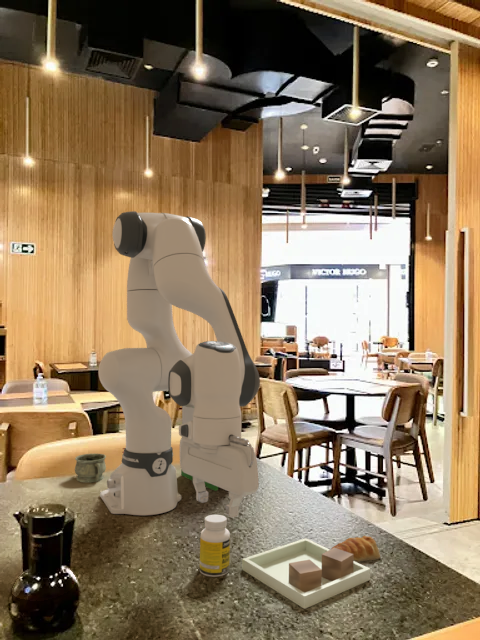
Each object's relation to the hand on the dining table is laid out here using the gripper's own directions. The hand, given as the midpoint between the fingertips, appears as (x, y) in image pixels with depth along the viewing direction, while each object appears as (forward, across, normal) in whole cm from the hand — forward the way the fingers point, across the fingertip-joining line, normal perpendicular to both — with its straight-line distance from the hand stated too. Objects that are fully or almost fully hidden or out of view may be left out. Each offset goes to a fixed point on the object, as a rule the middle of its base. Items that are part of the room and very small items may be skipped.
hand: (216, 508), depth 93 cm
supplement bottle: (+12, +1, 0) cm, 12 cm away
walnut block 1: (+11, -14, -8) cm, 20 cm away
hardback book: (+11, +48, -30) cm, 57 cm away
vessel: (+11, +69, -3) cm, 69 cm away
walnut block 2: (+11, -14, -16) cm, 24 cm away
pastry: (+12, -10, -26) cm, 31 cm away
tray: (+12, -10, -12) cm, 20 cm away
